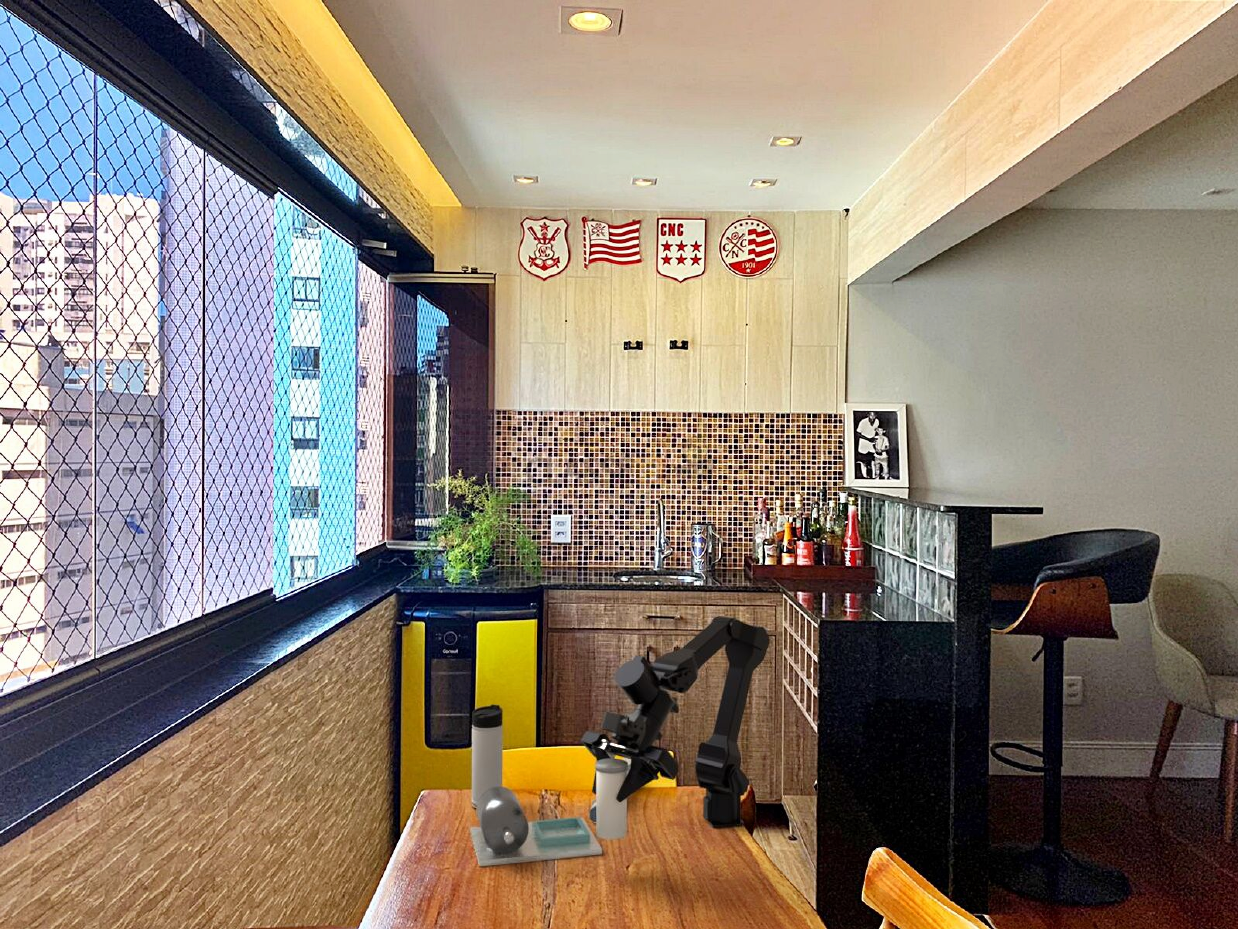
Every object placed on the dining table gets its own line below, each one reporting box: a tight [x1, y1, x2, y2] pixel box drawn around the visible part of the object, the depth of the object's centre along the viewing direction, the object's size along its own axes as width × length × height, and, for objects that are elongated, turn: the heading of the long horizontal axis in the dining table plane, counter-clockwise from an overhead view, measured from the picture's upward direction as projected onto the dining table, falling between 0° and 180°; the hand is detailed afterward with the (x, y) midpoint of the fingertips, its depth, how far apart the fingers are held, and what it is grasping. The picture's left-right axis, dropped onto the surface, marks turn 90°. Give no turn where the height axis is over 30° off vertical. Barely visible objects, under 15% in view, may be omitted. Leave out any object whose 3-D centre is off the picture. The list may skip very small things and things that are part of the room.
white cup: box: [594, 758, 628, 840], centre depth 163 cm, size 6×6×12 cm
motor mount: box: [469, 786, 603, 867], centre depth 175 cm, size 22×18×9 cm
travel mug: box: [471, 704, 504, 807], centre depth 196 cm, size 6×7×20 cm
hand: (605, 797), depth 162 cm, fingers closed on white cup, 5 cm apart
